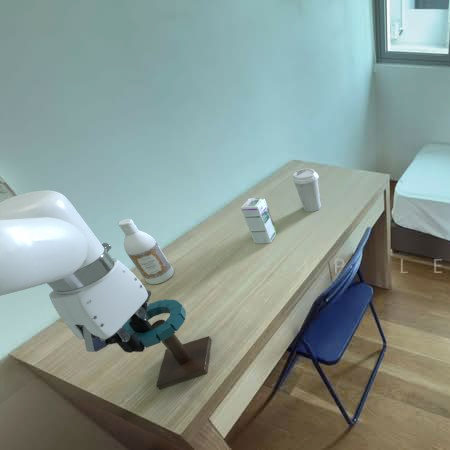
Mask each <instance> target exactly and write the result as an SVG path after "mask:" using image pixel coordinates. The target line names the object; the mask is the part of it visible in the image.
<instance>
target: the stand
mask: <svg viewBox="0 0 450 450" xmlns="http://www.w3.org/2000/svg"><path fill="white" fill-rule="evenodd" d="M165 321H166V320H165V319H158V320H156V321H154V322H153V323H152V324H151V325H152V327H153V329H156V328H157V327H159V326H160V325H162V324H163V323H164V322H165ZM161 343H162V344H163V346H164V347H165V348H166V349H165V350H164V353H163V358H162V362H161V365H160V369H159V374H158V377H157V381H156V384H155V387H156V388H157V389H158V390H162V389H163V390H164V389H166V388H169V387H172V386H173V385H177V384H180V383H183V382H186V381H189V380H192V379H195V378H198V377H200V376H204V375H206V374H208V372H209V365H210V355H211V347H212V338H211V336H210V335H207V336H205V337H201V338H199V339H195V340H192V341H188V342H186V343H182V342H181V341H180V339H179V338H178V336H177V335H176V333H174V334H173V335H171V336H170V337H169V338H167V339H166V340H164V341H162V340H161Z"/></svg>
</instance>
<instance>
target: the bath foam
mask: <svg viewBox="0 0 450 450" xmlns="http://www.w3.org/2000/svg"><path fill="white" fill-rule="evenodd" d="M117 224H118V226H119V227H120V229H121V230H122V232H123V233H124V240H123V249H124V251H125V254H126V255H127V256H128V258H129V259H130V260H131V261H132V264H133V265H134V266H135V267H136V269H137V271H139V273H140V275H141V276H142V278H144V280H145V282H147V284H149V285H158V284H162V283H164V282H166V281H168V280H169V279H170V278H172V276H173V275H174V271H175V270H174V268H173V267H172V265H171V263H170V261H169V259H168V258H167V256H166V255H165V253H164V252H163V250H162V248H161V247H160V245H159V244H158V242H157V240H156V239H155V238H154V236H152V235H150V234H149V233H147V232H145V231H143V230H140V229H138V227H137V225H136V224H135V222H134V221H133V219H132V218H124V219H122V220H120V221H119V222H118V223H117Z"/></svg>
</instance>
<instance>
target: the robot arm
mask: <svg viewBox="0 0 450 450" xmlns="http://www.w3.org/2000/svg"><path fill="white" fill-rule="evenodd" d="M111 249H112V246H111V245H110V243H107V242H103V243H101V242H100V240H99V239H98V238H97V236H96V235H95V234H94V232H93V231H92V229H91V228H90V226H89V225H88V223H86V221H85V220H84V218H83V217H82V216H81V214H80V213H79V212H78V211H77V209H76V208H75V207H74V205H73V203H72V202H71V201H70V200H69V199H68V198H67V197H66V196H65V195H64V194H62V193H61V192H58V191H55V190H51V189H46V190H45V189H43V190H36V191H34V190H33V191H30V192H24V193H20V194H17V195H14V196H10V197H8V198H6V199H3V200H1V201H0V296H4V295H5V296H6V295H8V294H12V293H17V292H21V291H24V290H28V289H31V288H35V287H38V286H42V285H46V284H47V286H49V287H50V288H51V289H52V291H51V292H50V293H48V296H49V299H50V301H51V304H52V306H53V308H54V309H55V311H56V313H57V314H58V316H59V317H60V318H61V320H62V321H63V323H64V324H65V325H66V327H67V328H68V329H69V330H70V331H71V332H72V333H73V334H74V335H75V337H76V338H78V339H79V340H84V345H85V349H86V352H88V353H89V352H90V353H95V352H96V353H97V352H99V351H101V350H103V349H104V348H106V347H108V346H110V345H114V344H117V345H118V346H119V348H121V349H122V351H124V352H125V353H129V354H132V353H143V352H144V351H145V348H146V347H144V346H143V345H142V343H141V342H140V341H139V340H138V339H137V338H136V336H134V335H129V334H128V332H127V331H126V330H125V329H124V327H123V325H124V324H125V323H126V322H127V321H128V319H129V320H131V321H130V322H129V324H130V327H131V328H132V329H133V330H134V331H135V332H136V333H145V332H148V331H151V330H154V329H153V327H152V324H151V323H150V321H149V320H147V319H148V314H147V313H146V311H147V306H148V303H149V300H150V298H151V296H152V291H151V290H148V289H146V287H145V285H143V283H142V282H141V281H140V279H139V278H138V277H137V276H136V274H135V273H134V272H133V271H132V270H130V269H129V268H128V267H127V266H126V265H125V264H124V263H122V262H121V261H120V260H118V259H117V258H114V257H112V256H111V255H110V253H109V251H110V250H111Z"/></svg>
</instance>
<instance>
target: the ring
mask: <svg viewBox="0 0 450 450" xmlns="http://www.w3.org/2000/svg"><path fill="white" fill-rule="evenodd" d="M146 313H147V314H148V319H147V320H148V321H150V320H151V319H152V318H154V317H156V316H159V315H163V314H169V316H168V317H167V319H166V320H165V322H164V323H163V324H162V325H160V326H159V327H157V328H156V329H154V330H151V331H148V332H145V333H136V332H135V331H134V330H133V329H132V328H131V327H130V324H129V322H130V321H131V320H129V319H128V321H127V322H126V323H125V324H124V325H123V327H124V329H125V330H126V331H127V332H128V334H129V335H134V336H136V338H137V339H138V340H139V341H140V342H141V343H142V345H143V346H144V347H145V348H146V349H148V348H150V347H153V346H156V345H159V344H161V343H162V342H161V340H162V341H164V340H166V339H167V338H169V337H170V336H171V335H173V334H176V332H178V331H179V329H180V328H181V327H182V326H183V324H184V323H185V320H186V317H187V311H186V308H184V305H183V304H182V303H180V302H179V301H178V300H177V299H159V300H157V301H154V302H151V303H148V305H147V311H146Z"/></svg>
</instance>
